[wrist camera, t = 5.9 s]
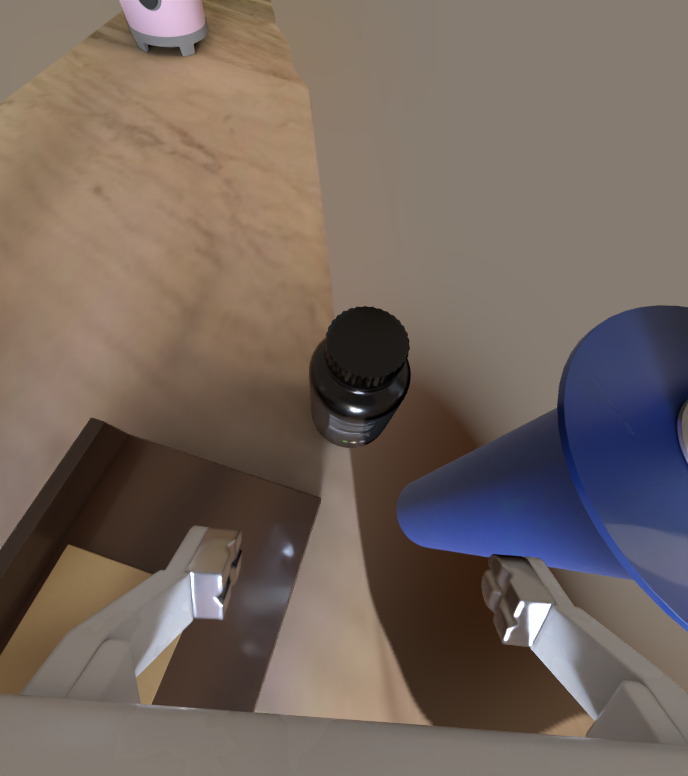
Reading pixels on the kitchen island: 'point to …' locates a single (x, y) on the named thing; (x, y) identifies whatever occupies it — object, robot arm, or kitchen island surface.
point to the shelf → (151, 563)
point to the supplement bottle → (359, 376)
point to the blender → (166, 23)
